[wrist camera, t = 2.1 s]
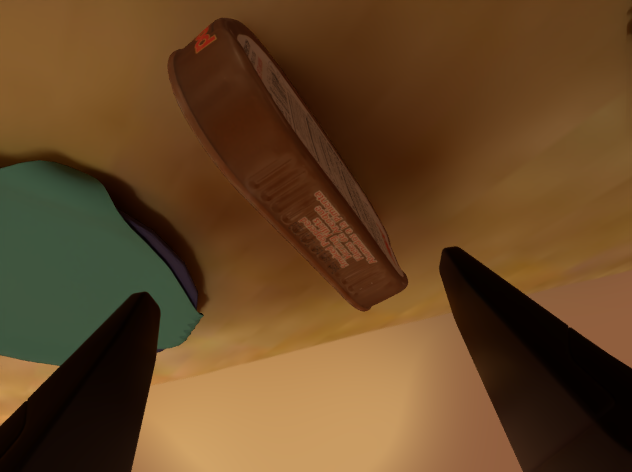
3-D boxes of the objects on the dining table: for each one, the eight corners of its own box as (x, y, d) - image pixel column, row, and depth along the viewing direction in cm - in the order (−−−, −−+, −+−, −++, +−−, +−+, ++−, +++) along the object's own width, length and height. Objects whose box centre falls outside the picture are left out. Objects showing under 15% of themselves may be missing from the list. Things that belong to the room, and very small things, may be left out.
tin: (189, 34, 15) (119, 106, 8) (243, -14, 14) (210, 27, 7) (350, 236, 24) (373, 342, 17) (390, 215, 23) (430, 321, 16)
